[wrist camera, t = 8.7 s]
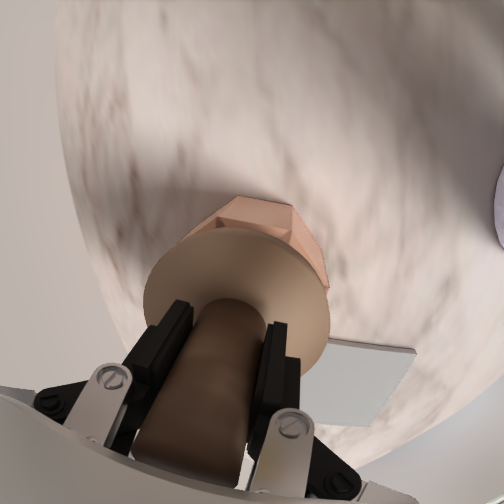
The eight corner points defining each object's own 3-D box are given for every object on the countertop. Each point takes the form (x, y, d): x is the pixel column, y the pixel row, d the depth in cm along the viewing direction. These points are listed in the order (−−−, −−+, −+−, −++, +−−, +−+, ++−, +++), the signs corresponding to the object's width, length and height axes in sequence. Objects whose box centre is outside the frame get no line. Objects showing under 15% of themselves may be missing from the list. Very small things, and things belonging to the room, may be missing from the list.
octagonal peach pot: (330, 213, 17) (343, 240, 13) (301, 322, 20) (300, 371, 16) (201, 189, 18) (168, 207, 13) (191, 299, 21) (165, 341, 16)
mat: (415, 349, 20) (417, 354, 19) (368, 422, 24) (369, 426, 23) (297, 333, 21) (297, 338, 20) (271, 412, 24) (270, 417, 24)
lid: (351, 249, 11) (415, 408, 4) (301, 390, 15) (294, 524, 7) (153, 211, 12) (9, 304, 5) (154, 356, 15) (89, 469, 8)
